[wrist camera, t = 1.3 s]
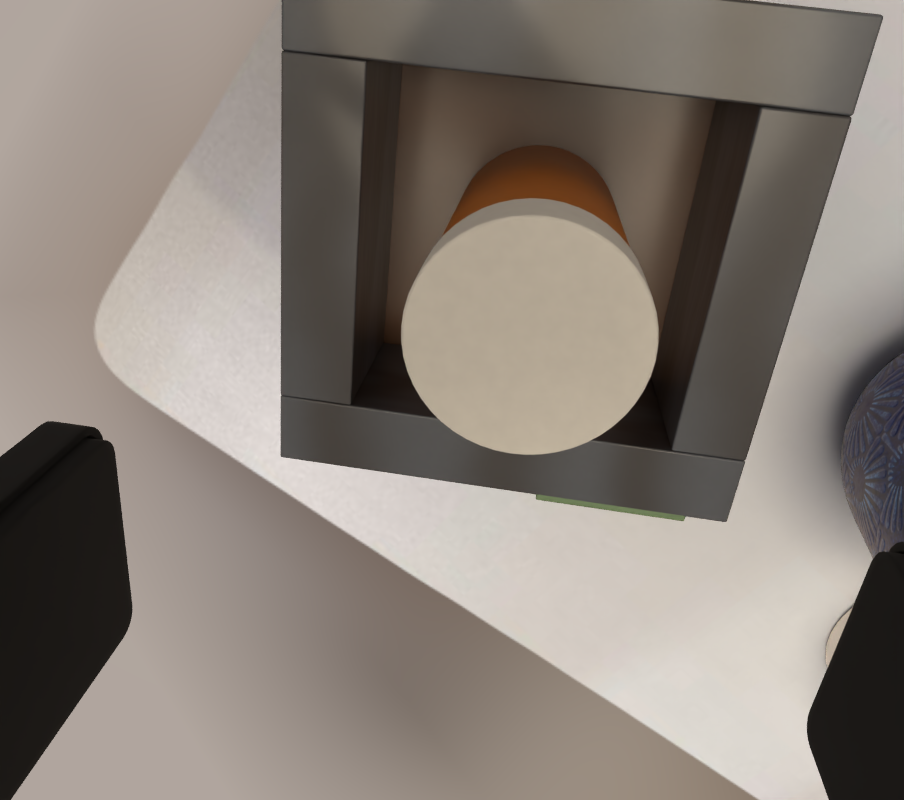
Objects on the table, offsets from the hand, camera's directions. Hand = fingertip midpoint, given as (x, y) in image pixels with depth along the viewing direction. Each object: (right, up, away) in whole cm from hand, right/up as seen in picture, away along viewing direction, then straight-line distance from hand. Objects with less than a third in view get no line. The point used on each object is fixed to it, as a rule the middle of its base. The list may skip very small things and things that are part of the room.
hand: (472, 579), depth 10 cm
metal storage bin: (+5, +16, +34) cm, 38 cm away
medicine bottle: (+3, +9, +20) cm, 22 cm away
